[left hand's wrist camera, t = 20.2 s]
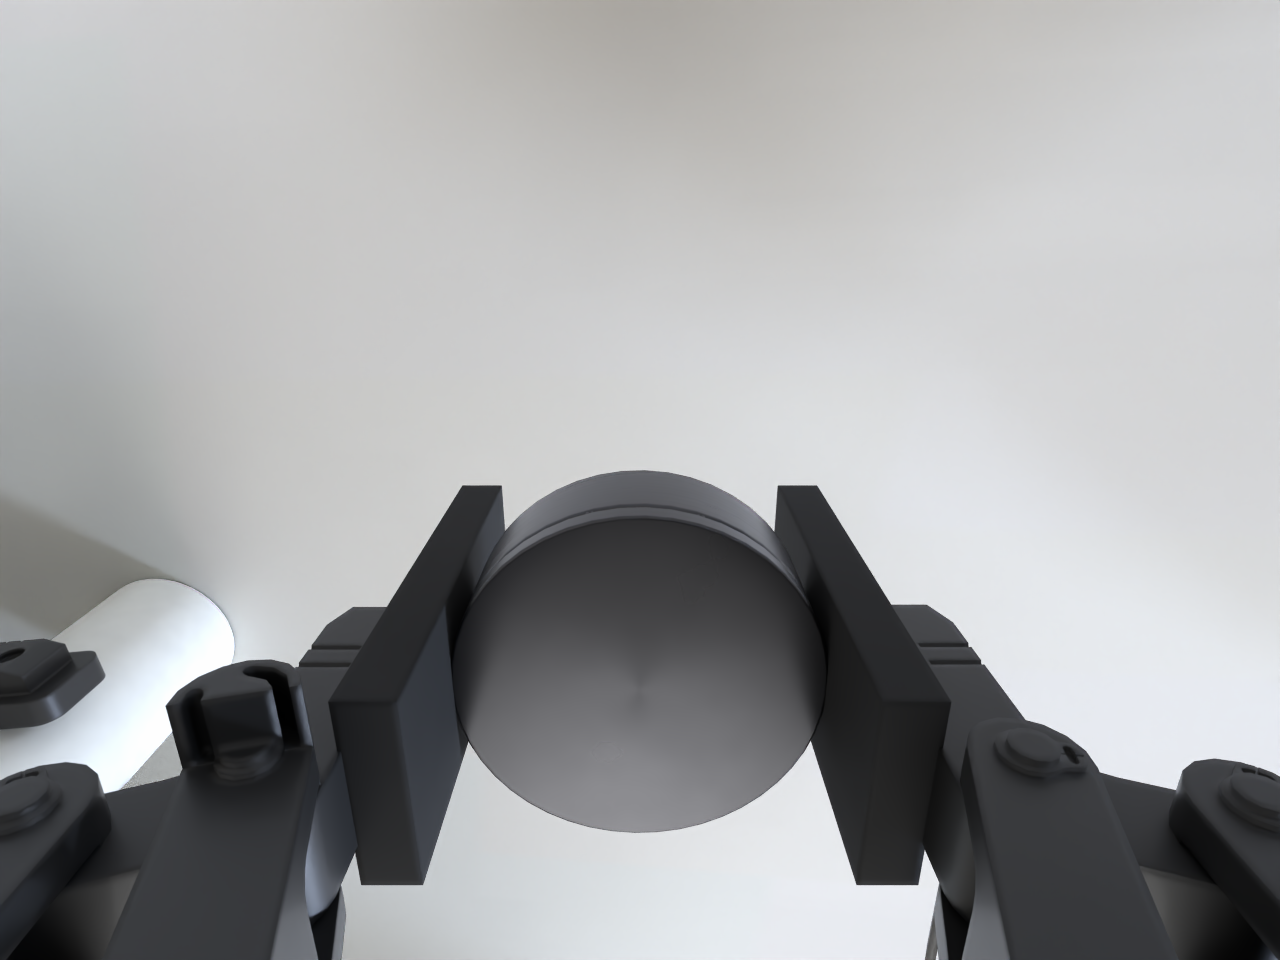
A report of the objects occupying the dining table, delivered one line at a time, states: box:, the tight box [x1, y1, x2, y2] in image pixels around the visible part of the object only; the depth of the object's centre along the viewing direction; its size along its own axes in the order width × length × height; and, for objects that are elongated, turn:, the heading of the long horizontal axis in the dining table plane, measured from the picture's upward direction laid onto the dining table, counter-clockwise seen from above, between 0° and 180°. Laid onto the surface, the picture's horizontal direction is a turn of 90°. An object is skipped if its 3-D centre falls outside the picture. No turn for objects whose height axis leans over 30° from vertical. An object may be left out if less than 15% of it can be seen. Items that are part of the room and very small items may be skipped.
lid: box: [451, 470, 828, 833], centre depth 11 cm, size 5×5×2 cm
